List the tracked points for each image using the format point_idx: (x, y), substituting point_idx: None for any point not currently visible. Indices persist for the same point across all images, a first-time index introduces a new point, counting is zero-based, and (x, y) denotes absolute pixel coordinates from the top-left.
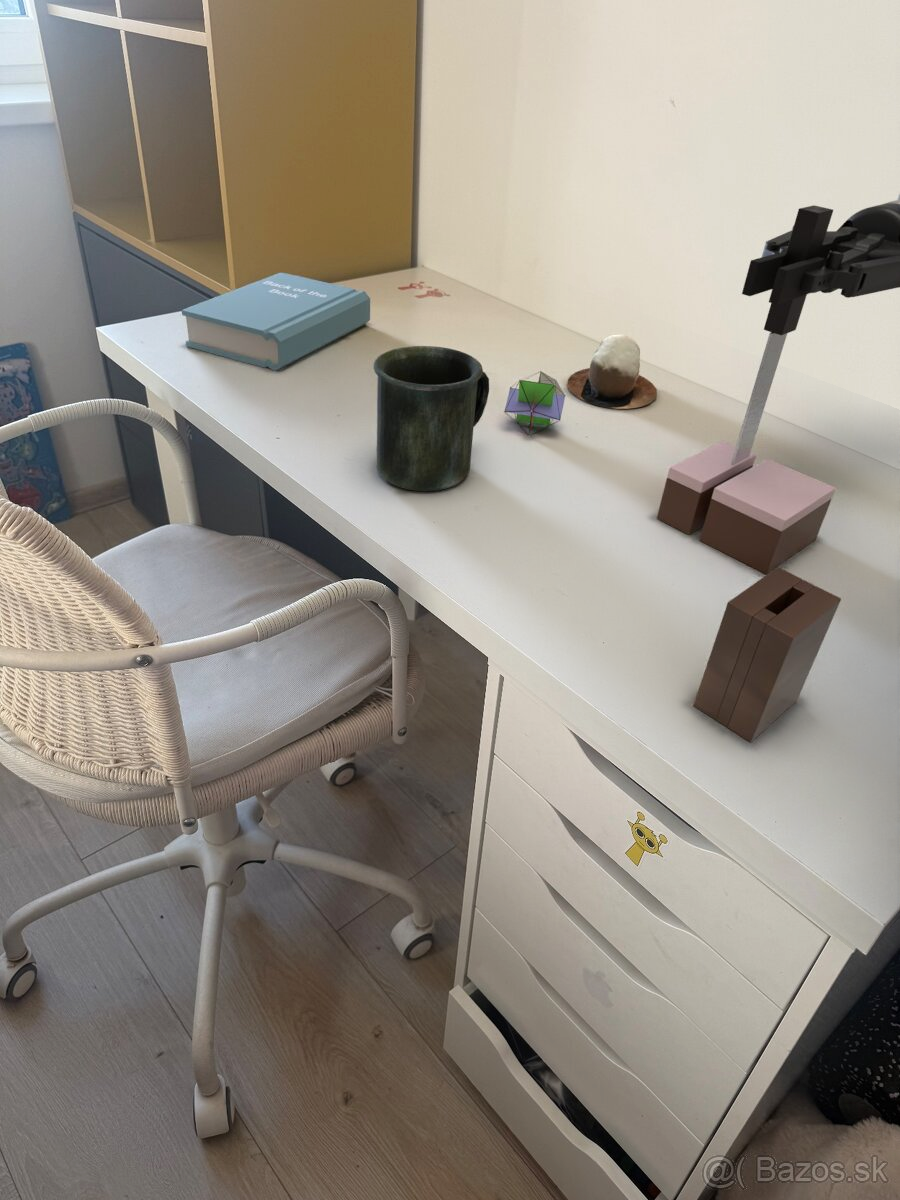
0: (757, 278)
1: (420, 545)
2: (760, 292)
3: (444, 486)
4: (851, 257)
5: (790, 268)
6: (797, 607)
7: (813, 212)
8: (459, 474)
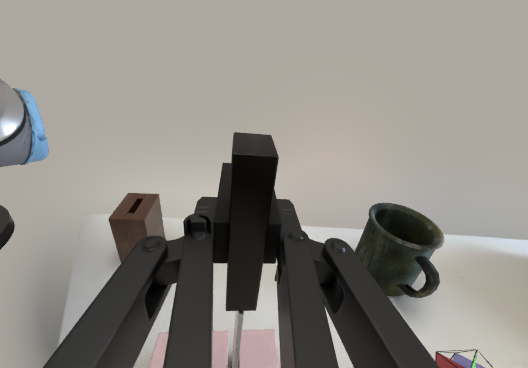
0: None
1: (309, 234)
2: None
3: None
4: (179, 291)
5: (224, 168)
6: (129, 204)
7: (243, 133)
8: None
